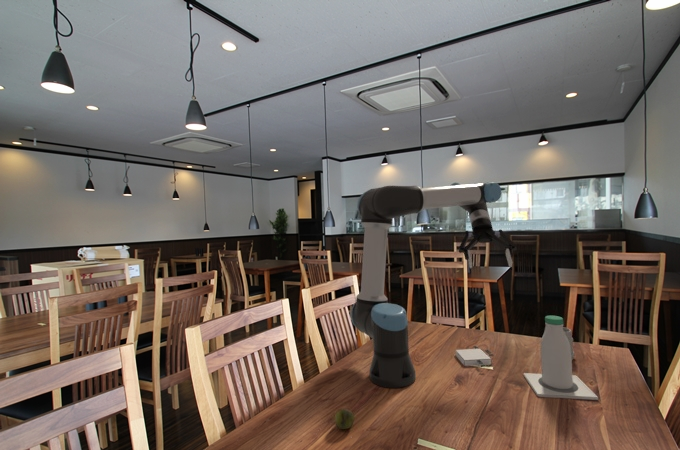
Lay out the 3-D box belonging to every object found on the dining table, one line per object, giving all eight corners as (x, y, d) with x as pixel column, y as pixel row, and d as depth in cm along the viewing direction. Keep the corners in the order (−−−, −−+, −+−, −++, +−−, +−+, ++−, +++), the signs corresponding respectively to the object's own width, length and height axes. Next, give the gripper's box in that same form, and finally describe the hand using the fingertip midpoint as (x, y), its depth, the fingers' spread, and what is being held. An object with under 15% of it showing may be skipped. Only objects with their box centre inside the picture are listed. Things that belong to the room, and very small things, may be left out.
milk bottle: (579, 389, 97) (575, 320, 97) (552, 391, 97) (548, 321, 97) (562, 377, 105) (558, 312, 104) (536, 378, 105) (533, 314, 104)
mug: (560, 362, 117) (559, 327, 117) (536, 349, 128) (534, 318, 128) (580, 359, 118) (578, 325, 118) (554, 347, 129) (553, 316, 129)
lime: (332, 427, 87) (331, 408, 87) (347, 420, 90) (346, 402, 90) (342, 436, 83) (341, 416, 83) (358, 428, 86) (356, 409, 86)
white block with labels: (450, 350, 133) (450, 343, 133) (479, 348, 133) (479, 342, 133) (470, 374, 113) (469, 366, 113) (504, 372, 113) (504, 364, 112)
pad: (537, 396, 96) (537, 393, 96) (523, 375, 109) (523, 372, 109) (598, 400, 93) (597, 396, 93) (576, 377, 105) (576, 375, 105)
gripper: (512, 228, 138) (526, 270, 123) (448, 231, 143) (454, 272, 129) (515, 215, 132) (530, 258, 118) (449, 218, 138) (455, 260, 123)
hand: (490, 265), depth 123 cm, fingers open, 13 cm apart
